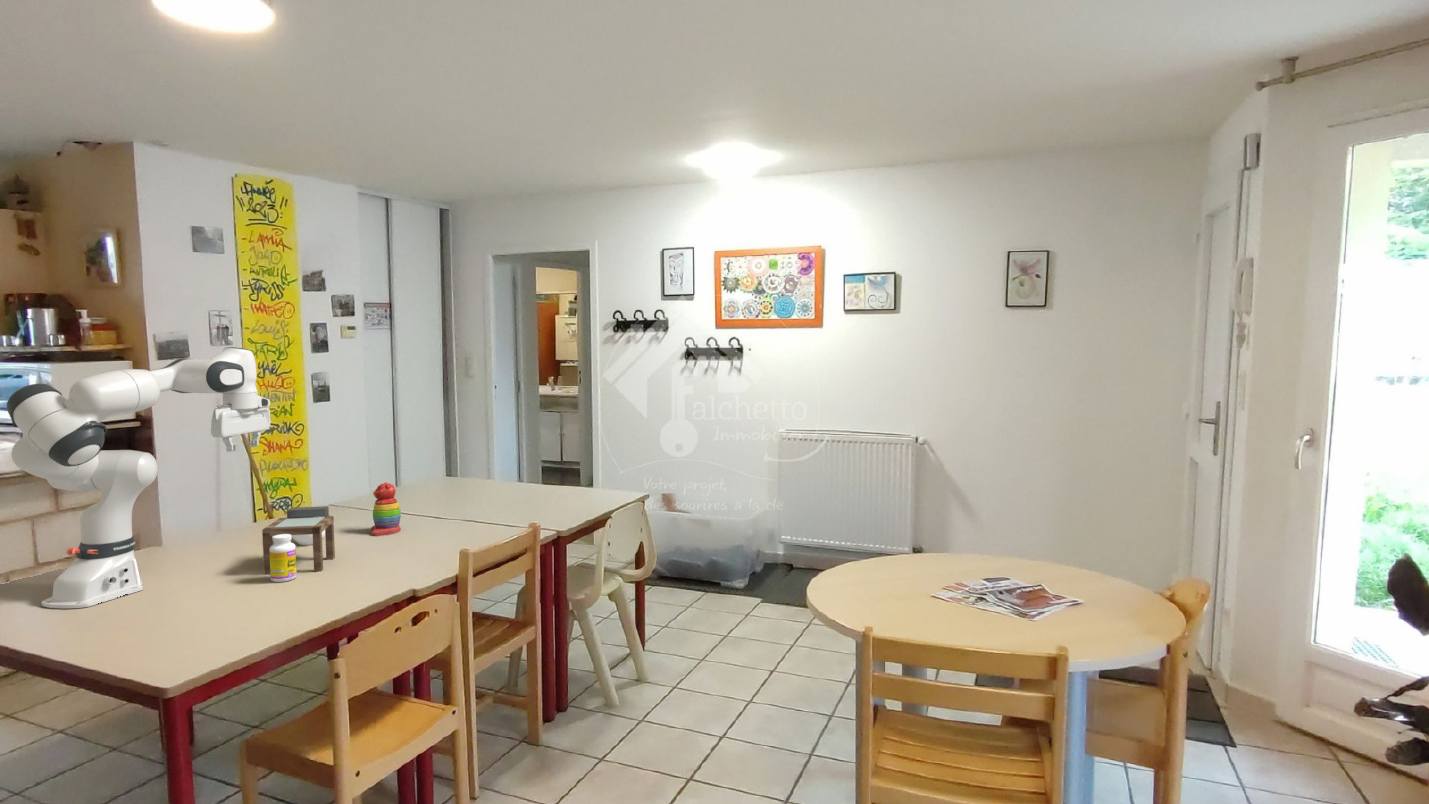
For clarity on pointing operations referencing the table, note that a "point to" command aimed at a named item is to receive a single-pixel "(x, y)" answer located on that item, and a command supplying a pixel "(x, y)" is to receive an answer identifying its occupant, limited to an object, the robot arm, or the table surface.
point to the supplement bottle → (282, 559)
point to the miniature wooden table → (316, 530)
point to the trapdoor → (304, 516)
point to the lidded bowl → (306, 538)
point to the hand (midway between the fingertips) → (242, 448)
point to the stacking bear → (385, 511)
